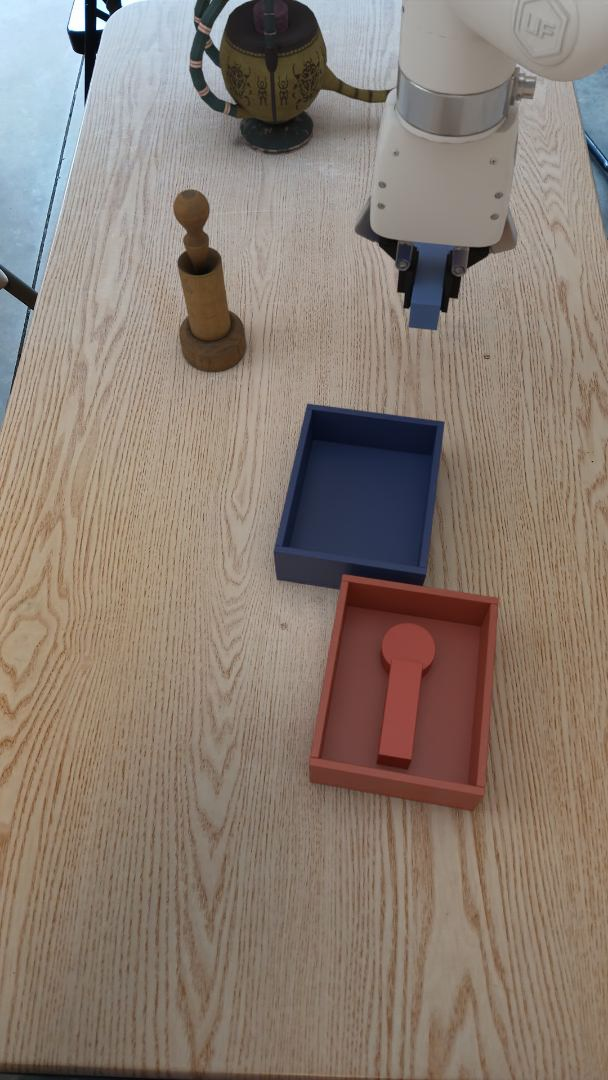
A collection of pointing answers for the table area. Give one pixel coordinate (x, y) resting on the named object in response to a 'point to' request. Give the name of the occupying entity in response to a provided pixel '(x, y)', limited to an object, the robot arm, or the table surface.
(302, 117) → the teapot
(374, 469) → the blue bin
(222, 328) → the mortar and pestle
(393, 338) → the table surface
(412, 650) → the red spoon
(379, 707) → the red bin
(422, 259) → the blue spoon
